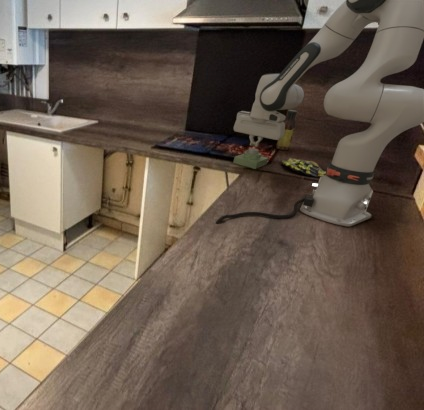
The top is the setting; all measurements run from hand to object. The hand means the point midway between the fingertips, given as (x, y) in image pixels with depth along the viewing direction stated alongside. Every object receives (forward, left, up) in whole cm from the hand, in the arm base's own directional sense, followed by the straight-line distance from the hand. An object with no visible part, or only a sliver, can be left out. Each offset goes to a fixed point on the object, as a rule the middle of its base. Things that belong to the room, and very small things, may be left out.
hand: (253, 145), depth 156 cm
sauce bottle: (+44, +2, -8) cm, 44 cm away
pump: (+1, 0, -4) cm, 4 cm away
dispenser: (+1, 0, -8) cm, 8 cm away
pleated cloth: (+13, -18, -8) cm, 24 cm away
